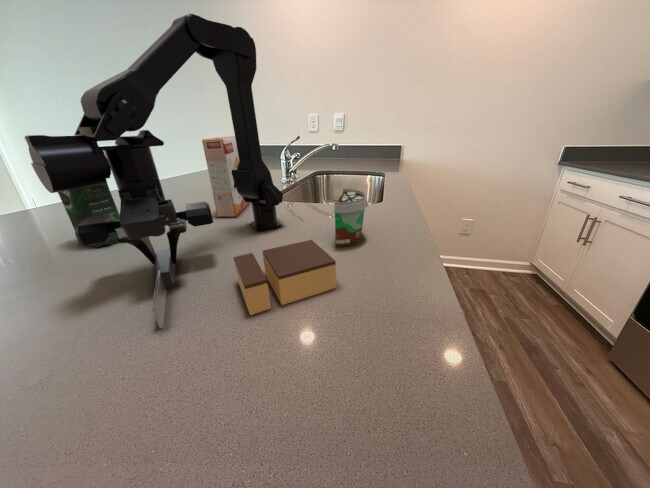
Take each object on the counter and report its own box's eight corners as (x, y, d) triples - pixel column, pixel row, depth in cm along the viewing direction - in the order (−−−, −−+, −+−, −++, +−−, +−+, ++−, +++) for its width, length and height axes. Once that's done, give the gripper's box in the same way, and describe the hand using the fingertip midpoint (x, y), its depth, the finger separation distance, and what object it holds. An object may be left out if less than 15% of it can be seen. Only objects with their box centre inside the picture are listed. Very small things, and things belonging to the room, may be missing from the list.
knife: (161, 264, 50) (156, 247, 48) (175, 261, 51) (170, 244, 49) (151, 331, 33) (141, 309, 32) (172, 325, 34) (164, 303, 33)
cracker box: (237, 217, 73) (223, 138, 64) (216, 218, 73) (199, 138, 64) (251, 203, 86) (240, 135, 77) (233, 203, 86) (220, 136, 77)
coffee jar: (135, 237, 62) (104, 156, 54) (96, 250, 56) (56, 161, 48) (113, 231, 66) (81, 155, 58) (75, 243, 60) (34, 159, 52)
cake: (265, 276, 45) (262, 250, 43) (312, 263, 48) (311, 239, 46) (281, 305, 37) (278, 276, 35) (336, 288, 41) (335, 260, 39)
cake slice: (238, 283, 43) (233, 256, 41) (256, 278, 44) (252, 252, 42) (250, 315, 36) (244, 285, 34) (271, 308, 37) (266, 279, 35)
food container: (364, 251, 52) (366, 204, 48) (334, 249, 53) (334, 203, 49) (367, 229, 63) (369, 188, 59) (342, 227, 64) (343, 187, 60)
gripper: (34, 199, 30) (89, 305, 37) (205, 181, 38) (225, 272, 44) (68, 182, 39) (108, 269, 46) (201, 170, 47) (218, 247, 53)
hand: (166, 264), depth 47 cm, fingers closed on knife, 2 cm apart
